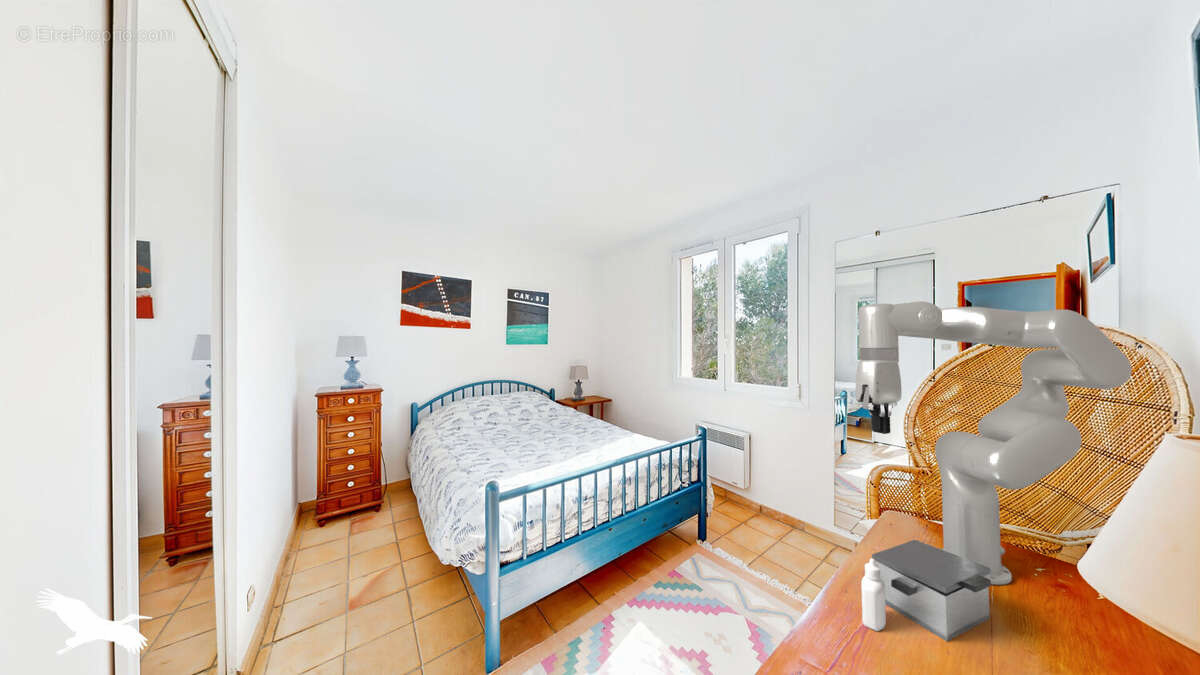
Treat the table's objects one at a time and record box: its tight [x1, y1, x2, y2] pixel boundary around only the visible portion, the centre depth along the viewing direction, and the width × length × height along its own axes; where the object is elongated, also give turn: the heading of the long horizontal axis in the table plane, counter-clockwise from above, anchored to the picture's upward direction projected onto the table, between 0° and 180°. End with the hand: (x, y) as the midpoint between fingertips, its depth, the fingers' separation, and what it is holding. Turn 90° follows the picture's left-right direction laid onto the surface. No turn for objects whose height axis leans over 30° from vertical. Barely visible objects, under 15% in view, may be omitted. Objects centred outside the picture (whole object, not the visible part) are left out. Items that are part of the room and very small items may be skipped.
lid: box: [871, 539, 992, 594], centre depth 73 cm, size 15×15×1 cm
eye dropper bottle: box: [860, 557, 887, 632], centre depth 71 cm, size 4×6×12 cm
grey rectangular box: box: [875, 561, 991, 642], centre depth 74 cm, size 19×12×8 cm, turn 111°
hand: (881, 432), depth 88 cm, fingers closed
